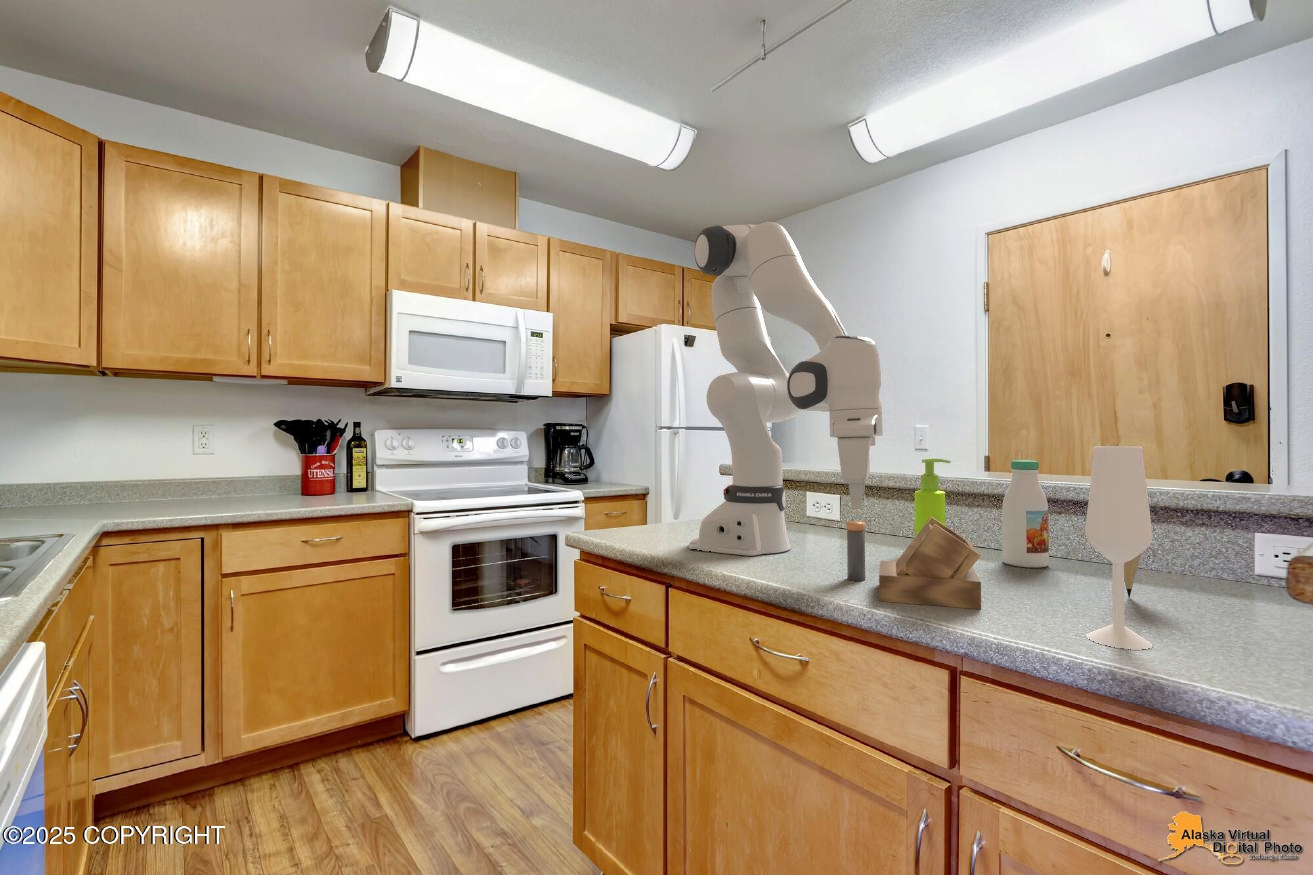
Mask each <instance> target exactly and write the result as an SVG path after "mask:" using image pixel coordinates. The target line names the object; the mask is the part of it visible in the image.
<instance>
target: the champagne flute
mask: <svg viewBox="0 0 1313 875" xmlns="http://www.w3.org/2000/svg"><path fill="white" fill-rule="evenodd" d="M1091 466H1092V468H1091V476H1090V484H1089V493H1088V502H1087V512H1086V522H1085V530H1084V534H1085V537H1086V539H1087V540H1088V542H1089V543H1090V545H1091V546H1092V547H1093V548H1094V549H1095V550H1096V551H1097V552H1098V553H1099V554H1101V555H1102V556H1103V557H1104V558H1105V559H1106V560H1109V561H1110V562H1111V563H1112V567H1111V568H1112V571H1111V573H1112V575H1111V576H1112V578H1111V579H1112V580H1111V582H1112V583H1111V584H1112V586H1111V587H1112V592H1111V593H1112V596H1111V598H1112V600H1111V602H1112V603H1111V604H1112V607H1111V608H1112V623H1111V624H1110V625H1107V626H1103V627H1101V628H1099V629H1096V630H1093V631H1090V632H1088V633H1086V634H1085V638H1086V639H1088V640H1089V639H1090V640H1089V641H1091V642H1093V641H1094V642H1093V643H1096V644H1098V643H1099V645H1102V646H1105V645H1107V646H1106V647H1109V646H1111V647H1110V648H1114V647H1115V649H1120V648H1124V649H1123V650H1128V649H1129V650H1130V649H1131V650H1132V651H1143V650H1142V649H1146V650H1149V649H1148V648H1150V649H1152V648H1153V647H1152V645H1153V644H1152V643H1151V642H1150V641H1148V640H1147V639H1145V638H1144V637H1142V636H1141V635H1139V634H1137V633H1136V632H1135V631H1133V630H1131V629H1130V628H1128V627H1126V626H1125V581H1124V563H1125V562H1128V561H1130V560H1132V559H1133V558H1135V557H1136V556H1138V555H1139V554H1141V555H1142V553H1143V552H1145V551H1146V550H1147V549H1148V547H1149V546H1150V545H1151V543H1152V542H1153V538H1154V537H1153V536H1154V535H1153V525H1152V519H1151V510H1150V504H1149V502H1150V501H1149V495H1148V486H1147V478H1146V469H1145V461H1144V451H1143V446H1135V445H1133V446H1132V445H1130V446H1129V445H1128V446H1127V445H1126V446H1123V445H1117V446H1114V445H1112V446H1111V445H1106V446H1105V445H1104V446H1101V445H1100V446H1099V445H1098V446H1097V445H1096V446H1094V447H1093V458H1092V465H1091ZM1151 525H1152V526H1151ZM1131 650H1130V651H1131Z"/></svg>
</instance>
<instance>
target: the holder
mask: <svg viewBox="0 0 1313 875" xmlns="http://www.w3.org/2000/svg"><path fill="white" fill-rule="evenodd" d="M981 556H982V555H981V553H979V552H978V551H977V549H975V544H973V543H972V542H970V541H969V540H967V539H966V538H964V537H963V536H961V535H960V534H958V533H957V532H956V531H954V530H953V529H951V528H949V527H948V526H946V524H945V525H943V524H942V523H940V522H939V521H937V520H936V519H934V518H933V517H931V518H930V519H929V520H928V522H927V523H926V524H925V526H924V527H923V528H922V529H921V531H920V532H919V533H918V535H917V536H916V537H915V536H914V538H913V539H912V541H911V542H910V543H909V545H908V546H907V548H906V549H905V550H904V551H903V552H902V554H901V555H900V556H899V558H898V559H897V560H895V561H889V560H880V561H879V570H878V571H879V572H878V574H879V575H878V586H879V587H878V588H879V589H878V592H879V593H878V598H879V600H878V601H879V602H887V603H888V602H889V603H900V604H910V605H911V604H912V605H913V604H914V605H925V606H938V607H949V608H962V609H963V608H964V609H973V610H975V609H976V610H981V609H982V582H981V579H980V577H979V576H978V574H977V573H976V571H975V569H974V567H973V566H974V565H975V564H976V563H977V561H979V559H980V558H981Z"/></svg>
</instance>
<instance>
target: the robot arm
mask: <svg viewBox="0 0 1313 875" xmlns="http://www.w3.org/2000/svg"><path fill="white" fill-rule="evenodd" d="M694 259H695V263H696V266H697V268H698V269H699V270H700V272H701V273H703V274H706V275H708V276H713V277H716V278H715V279H714V281H713V282H712V285H711V306H712V308H711V309H712V315H713V320H714V325H715V330H716V335H717V340H718V343H719V348H720V353H721V356H722V357H723V358H724V359H725V360H726V361H727V362H728V363H729V364H731V365H732V366H733V368H734V369H735V370H736V371H735V372H730V373H725V374H721V375H718V376H716V377H714V378H713V379H712V381H711V382H710V384H709V386H708V388H707V391H706V404H707V408H708V410H709V412H710V413H711V415H712V416H713V417H714V418H716V420H718V422H719V423H720V425H721V427H722V428H723V429H724V432H725V434H726V437H727V440H728V442H729V447H730V453H731V466H732V467H731V469H732V471H731V472H732V483H731V484H728V485H727V486H726V487H725V488H724V489H723V492H722V493H723V499H724V501H723V502H722V503H721V504H719V505H718V506H717V507H716V508H714V509H713V510H712V511H711V512H709V513H708V514H707V515H706V516H704V517H703V519H702V521H701V523H700V526H699V533H698V537H696V538H693V539H692V540H691V541H690V542H688V543H689V544H688V549H690V550H691V549H697V550H696V551H699V550H702V551H701V552H709V551H711V552H710V553H718V554H719V553H721V554H729V555H731V554H732V555H739V556H740V555H741V556H749V557H750V556H752V557H753V556H759V555H764V554H765V555H766V554H767V555H768V554H777V553H783V552H786V551H790V550H791V543H790V540H789V536H788V532H787V526H786V519H785V509H786V489H785V487H786V486H785V485H784V483H783V478H784V477H783V451H782V449H781V447H780V446H779V445H778V443H776V442H775V441H774V440H773V438H772V437H771V434H770V432H769V429H768V426H767V423H781V422H784V421H788V420H790V419H794V418H795V417H797V416H798V415H799V414H800V413H801V411H809V412H825V413H827V412H828V413H829V417H828V418H829V437H830V438H835V439H836V438H837V439H836V441H837V442H836V443H837V450H838V451H837V452H838V458H839V465H840V473H841V478H842V480H843V483H844V484H848V490H849V497H850V507H851V509H852V510H860V509H862V508H863V504H864V503H865V501H866V498H865V497H866V496H865V495H866V494H865V493H866V492H865V489H866V482H867V480H868V479H869V476H870V474H871V466H870V462H871V460H870V448H871V446H873V447H874V446H876V437H881V436H882V437H883V435H884V434H883V430H884V429H883V407H882V404H881V400H880V389H881V385H882V374H881V372H882V371H881V362H880V361H881V360H880V354H879V350H878V346H877V345H876V342H875V341H874V340H872V339H871V338H869V337H867V336H857V335H855V336H853V335H849V334H848V332H847V330H846V329H845V327H844V325H843V323H842V321H841V319H840V318H839V316H838V314H837V312H836V310H835V309H834V307H833V305H832V304H831V303H830V301H829V300H828V299H827V298H826V296H825V295H823V293H822V292H821V290H820V289H819V288H818V287H817V285H816V284H815V282H814V280H813V279H812V277H811V275H810V274H809V272H808V270H807V269H806V265H805V264H804V262H803V259H802V256H801V253H800V252H799V250H798V248H797V246H796V244H795V242H794V241H793V239H792V237H791V236H790V234H789V233H788V231H787V230H786V229H785V227H783V225H781V224H780V223H777V222H773V221H766V222H762V223H761V222H760V223H758V224H751V223H750V224H749V223H744V224H733V225H731V224H730V225H723V226H722V225H718V224H717V225H712V226H708V227H706V228H702V230H701V231H700V232H699V234H698V236H697V237H696V240H695V244H694ZM762 309H763V310H764V311H765V312H767V313H768V314H770V315H772V316H774V317H775V318H776V317H777V318H778V319H779V318H780V319H781V320H784V321H787V322H789V323H791V324H793V325H796V326H798V327H799V328H801V329H803V330H804V331H805V332H807V333H809V335H810V336H811V337H812V338H813V341H815V343H816V345H817V347H818V349H819V352H818V353H816V354H815V355H814V356H811V357H810V358H807V359H806V360H802V361H800V362H798V363H796V364H795V365H794V366H793V367H792V369H791V370H790V372H789V373H788V372H787V370H786V369H785V367H784V365H783V363H782V362H781V361H780V358H779V357H778V356H777V354H776V352H775V350H774V348H773V346H772V343H771V340H770V336H769V334H768V330H767V326H766V322H765V319H764V314H763V310H762Z"/></svg>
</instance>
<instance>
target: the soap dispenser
mask: <svg viewBox="0 0 1313 875" xmlns="http://www.w3.org/2000/svg"><path fill="white" fill-rule="evenodd" d="M951 462H952V461H951V460H947V459H942V458H925V459H921V463H924V466H925V467H924V468H925V469H924V470H925V471H924V473H923V474H921V475H920V489H919V490H918V489H917V490H915V491H914V538H915V537H916V536H917V535H918V533H919V532H920V531H921V529H922V528H923V527H924V526H925V524H926V523H927V522H928V520H929V519H930V518H931V517H933V518H934V519H936V520H937V521H939V522H940V523H942V524H943V525H945V526H946V492H945V491H942V490H940V489H939V486H940V485H939V484H940V482H939V480H940V479H939V478H940V477H939V475H938V474H937V473H935V463H947V464H950V463H951Z"/></svg>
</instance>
